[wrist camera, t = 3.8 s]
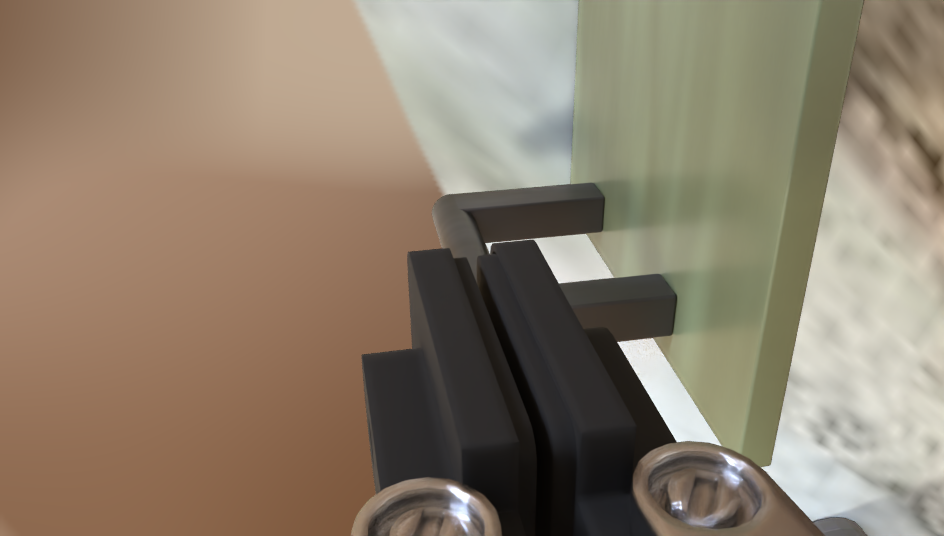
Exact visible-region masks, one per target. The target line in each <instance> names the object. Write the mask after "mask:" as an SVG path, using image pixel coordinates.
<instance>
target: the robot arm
mask: <svg viewBox="0 0 944 536" xmlns="http://www.w3.org/2000/svg"><path fill="white" fill-rule="evenodd" d="M407 257H408V258H407V263H408V282H409V299H410V317H411V335H412V349H406V350H397V351H389V352H380V353H371V354H364V355H362V369H363V381H364V392H365V403H366V413H367V423H368V432H369V442H370V451H371V460H372V468H373V476H374V483H375V491H376V495H375V496H373V497H372V498H371V499H369V500H368V501H367V503H366V504H365V505H364V507H363V508H362V509H361V510H360V511H359V513H358V514H357V516H356V519H355V522H354V525H353V529H352V532H351V536H825V535H824V534H823V533H822V532H821V530H820V529H819V528H818V527H817V526H816V525H815V524H814V523H813V522H812V521H811V520H810V519H809V518H808V517H807V516H806V514H805V513H804V512H803V511H802V510H801V509H800V508H799V507H798V506H797V505H796V504H795V503H794V502H793V501H792V500H791V498H790V497H789V496H788V495H787V494H786V493H785V492H784V491H783V490H782V489H781V488H780V487H779V486H778V485H777V484H776V482H775V481H774V480H773V479H772V478H771V477H770V476H769V475H768V474H767V473H766V472H765V471H764V470H763V469H762V468H760V467H759V466H758V465H757V464H756V463H754V462H753V461H752V460H751V459H750V458H748V457H746V456H744V455H742V454H740V453H738V452H736V451H734V450H732V449H729V448H726V447H722V446H719V445H715V444H711V443H705V442H692V441H685V442H678V443H677V442H676V440H675V438H674V437H673V435H672V433H671V432H670V430H669V428H668V427H667V425H666V423H665V422H664V420H663V418H662V417H661V415H660V413H659V412H658V410H657V408H656V407H655V405H654V403H653V402H652V400H651V398H650V397H649V395H648V393H647V391H646V390H645V388H644V386H643V385H642V383H641V381H640V380H639V378H638V376H637V375H636V373H635V371H634V370H633V368H632V366H631V365H630V363H629V361H628V360H627V358H626V356H625V355H624V353H623V351H622V350H621V348H620V346H619V345H618V343H617V341H616V340H615V338H614V336H613V335H612V333H611V332H610V331H609V330H608V328H605V327H596V328H587V329H583V327H582V325H581V324H580V322H579V320H578V318H577V316H576V314H575V313H574V311H573V309H572V307H571V305H570V304H569V302H568V300H567V298H566V296H565V294H564V293H563V291H562V289H561V287H560V285H559V284H558V282H557V280H556V278H555V276H554V274H553V273H552V271H551V269H550V267H549V265H548V264H547V262H546V260H545V258H544V256H543V254H542V253H541V251H540V249H539V247H538V245H537V243H536V242H535V241H534V240H523V241H513V242H503V243H493V244H492V246H491V251H490V255H480V256H478V257H477V282H476V280H475V277H474V275H473V272H472V269H471V267H470V264H469V262H468V259H467V257H460V258H453V255H452V253H451V250H450V248H442V249H432V250H423V251H412V252H408V256H407Z"/></svg>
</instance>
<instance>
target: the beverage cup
mask: <svg viewBox="0 0 944 536" xmlns="http://www.w3.org/2000/svg"><path fill="white" fill-rule="evenodd" d="M813 523H814V524H815V525H816V526H817V527H818V528H819V529H820V530H821V532H822V533H823V534H824V535H825V536H867V535H866V534H865V532H864V531H863V530H862V528H861V527H860V526H859V525H858V524H857V523H856V522H854V521H851V520H849V519H846V518H828V519H823V520H818V521H816V522H813Z"/></svg>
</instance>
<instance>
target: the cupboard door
mask: <svg viewBox="0 0 944 536" xmlns="http://www.w3.org/2000/svg"><path fill="white" fill-rule="evenodd" d="M863 3H864V0H579V5H578V27H577V49H576V71H575V93H574V115H573V137H572V158H571V180H570V184H567V185H556V186H544V187H532V188H520V189H509V190H497V191H485V192H473V193H462V194H449V195H445V196H443V197H441V198H440V199H438V200H437V202H436V203H435V204H434V206H433V209H432V217H433V221H434V224H435V227H436V230H437V234H438V237H439V240H440V243H441V246H442V248H450V250H451V253H452V255H453V258H460V257H467V259H468V262H469V264H470V267H471V269H472V272H473V275H474V277H475V280H476V282H477V257H478V256H480V255H490V254H489V251H488V249H487V246H486V244H485V243H491V242H502V241H512V240H523V239H534V238H544V237H555V236H566V235H576V234H587V236H588V237H589V239H590V240H591V242H592V243H593V245H594V246H595V248H596V250H597V251H598V253H599V254H600V256H601V257H602V259H603V261H604V262H605V264H606V265H607V267H608V268H609V270H610V272H611V273H612V275H613V276H614V278H609V279H599V280H589V281H579V282H569V283H560V284H559V285H560V287H561V289H562V291H563V293H564V294H565V296H566V298H567V300H568V302H569V304H570V305H571V307H572V309H573V311H574V313H575V314H576V316H577V318H578V320H579V322H580V324H581V325H582V327H583V329H587V328H596V327H605V328H608V330H609V331H610V332H611V333H612V335H613V336H614V338H615V340H616V341H617V342H620V341H629V340H638V339H647V338H653V339H654V340H655V342H656V343H657V345H658V347H659V348H660V350H661V351H662V353H663V354H664V356H665V358H666V359H667V361H668V362H669V364H670V365H671V367H672V369H673V370H674V372H675V373H676V375H677V376H678V378H679V379H680V381H681V383H682V384H683V386H684V387H685V389H686V390H687V392H688V394H689V395H690V397H691V398H692V400H693V401H694V403H695V405H696V406H697V408H698V409H699V411H700V412H701V414H702V415H703V417H704V419H705V420H706V422H707V423H708V425H709V426H710V428H711V430H712V431H713V433H714V434H715V436H716V437H717V439H718V441H719V442H720V444H721V445H722V447H726V448H729V449H732V450H734V451H736V452H738V453H740V454H742V455H744V456H746V457H748V458H750V459H751V460H752V461H753V462H754V463H756V464H757V465H758V466H759V467H764V466H769V465H770V464H771V460H772V455H773V450H774V445H775V440H776V435H777V430H778V425H779V420H780V415H781V411H782V406H783V401H784V396H785V391H786V386H787V381H788V376H789V371H790V366H791V361H792V356H793V351H794V346H795V341H796V336H797V331H798V326H799V321H800V316H801V311H802V306H803V301H804V296H805V291H806V286H807V281H808V276H809V271H810V267H811V262H812V257H813V252H814V247H815V242H816V237H817V232H818V227H819V222H820V217H821V212H822V207H823V202H824V197H825V192H826V187H827V182H828V177H829V172H830V167H831V162H832V157H833V152H834V147H835V142H836V137H837V132H838V127H839V123H840V118H841V113H842V108H843V103H844V98H845V93H846V88H847V83H848V78H849V73H850V68H851V63H852V58H853V53H854V48H855V43H856V38H857V33H858V28H859V23H860V18H861V13H862V8H863Z"/></svg>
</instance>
